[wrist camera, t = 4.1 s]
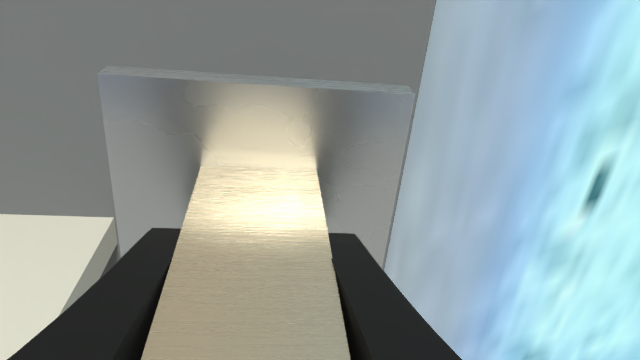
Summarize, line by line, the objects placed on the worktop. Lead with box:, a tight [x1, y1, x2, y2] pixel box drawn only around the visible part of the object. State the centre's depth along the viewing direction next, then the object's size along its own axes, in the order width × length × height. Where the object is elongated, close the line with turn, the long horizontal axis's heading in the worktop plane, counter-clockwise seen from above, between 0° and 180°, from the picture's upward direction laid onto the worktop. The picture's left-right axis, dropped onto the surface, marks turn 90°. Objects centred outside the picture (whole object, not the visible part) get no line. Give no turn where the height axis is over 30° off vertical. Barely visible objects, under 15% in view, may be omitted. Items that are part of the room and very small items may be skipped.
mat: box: [0, 0, 436, 278], centre depth 18 cm, size 20×20×1 cm
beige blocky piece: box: [97, 66, 415, 360], centre depth 8 cm, size 6×6×6 cm
